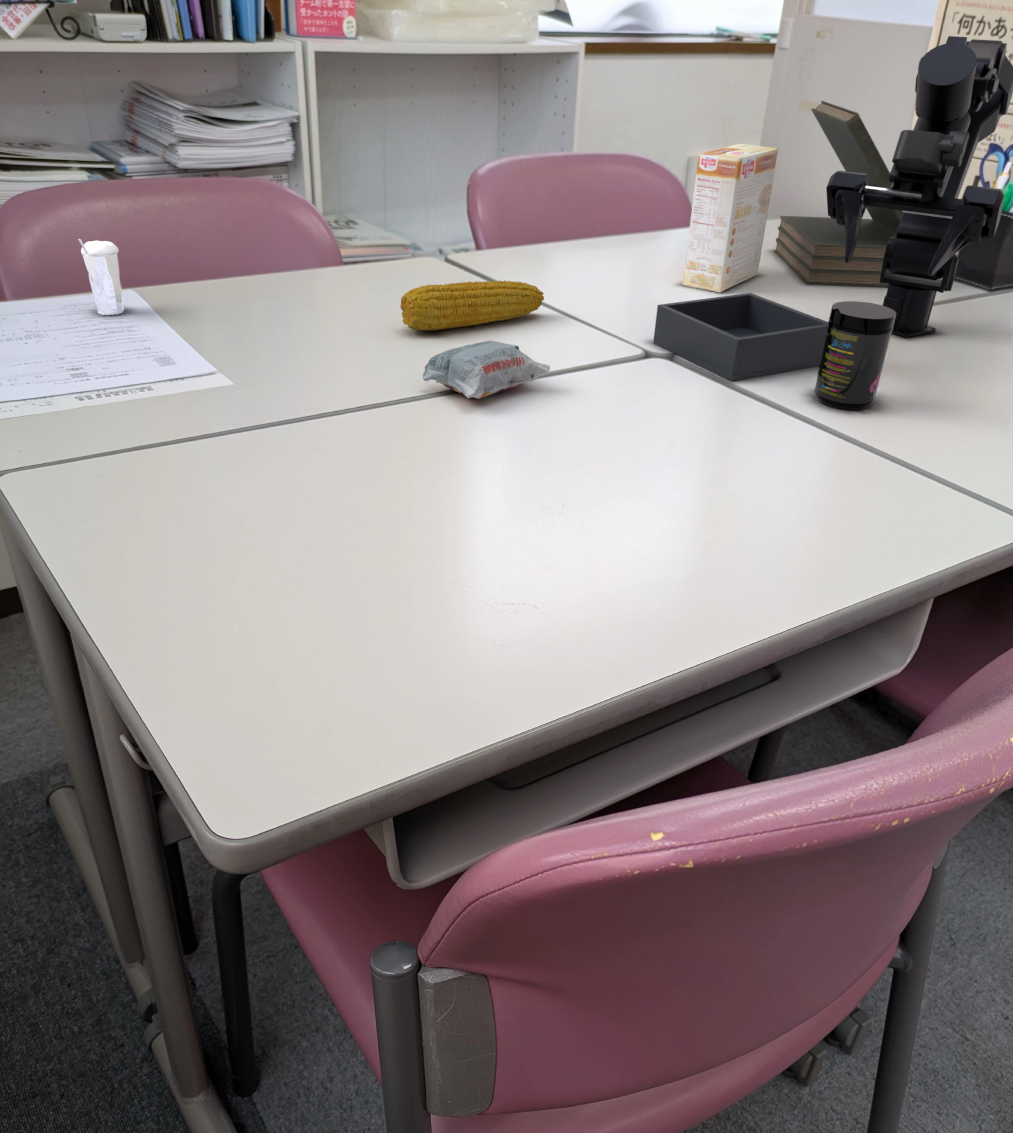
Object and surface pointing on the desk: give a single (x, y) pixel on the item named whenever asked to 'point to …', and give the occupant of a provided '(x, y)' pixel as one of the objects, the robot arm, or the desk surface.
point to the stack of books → (821, 240)
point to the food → (468, 304)
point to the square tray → (740, 335)
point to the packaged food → (483, 368)
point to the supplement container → (853, 354)
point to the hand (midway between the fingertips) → (887, 266)
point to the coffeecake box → (728, 215)
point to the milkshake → (104, 275)
